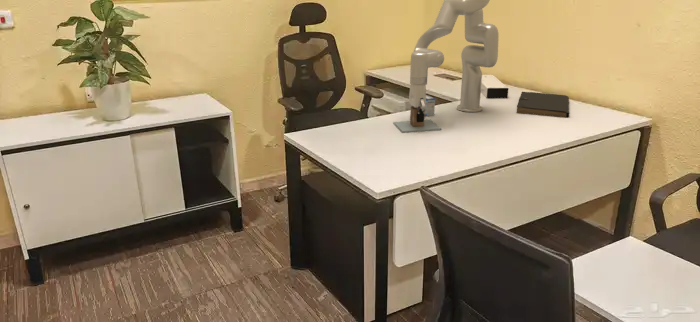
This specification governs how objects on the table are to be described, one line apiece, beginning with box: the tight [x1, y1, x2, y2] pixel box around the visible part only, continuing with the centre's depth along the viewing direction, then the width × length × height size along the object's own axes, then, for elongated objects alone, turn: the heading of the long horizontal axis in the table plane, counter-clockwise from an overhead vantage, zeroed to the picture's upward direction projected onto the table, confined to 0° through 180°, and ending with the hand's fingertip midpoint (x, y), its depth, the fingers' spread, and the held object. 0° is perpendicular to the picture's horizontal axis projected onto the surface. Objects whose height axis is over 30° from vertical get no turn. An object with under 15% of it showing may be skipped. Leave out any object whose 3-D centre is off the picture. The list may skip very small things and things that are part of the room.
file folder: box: [516, 91, 570, 119], centre depth 269 cm, size 33×4×24 cm
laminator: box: [481, 74, 509, 99], centre depth 301 cm, size 34×12×6 cm, turn 0°
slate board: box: [393, 119, 442, 134], centre depth 240 cm, size 14×18×1 cm
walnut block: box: [409, 106, 426, 127], centre depth 238 cm, size 5×5×8 cm
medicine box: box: [419, 94, 436, 117], centre depth 258 cm, size 8×4×9 cm, turn 27°
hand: (417, 119), depth 239 cm, fingers open, 7 cm apart
